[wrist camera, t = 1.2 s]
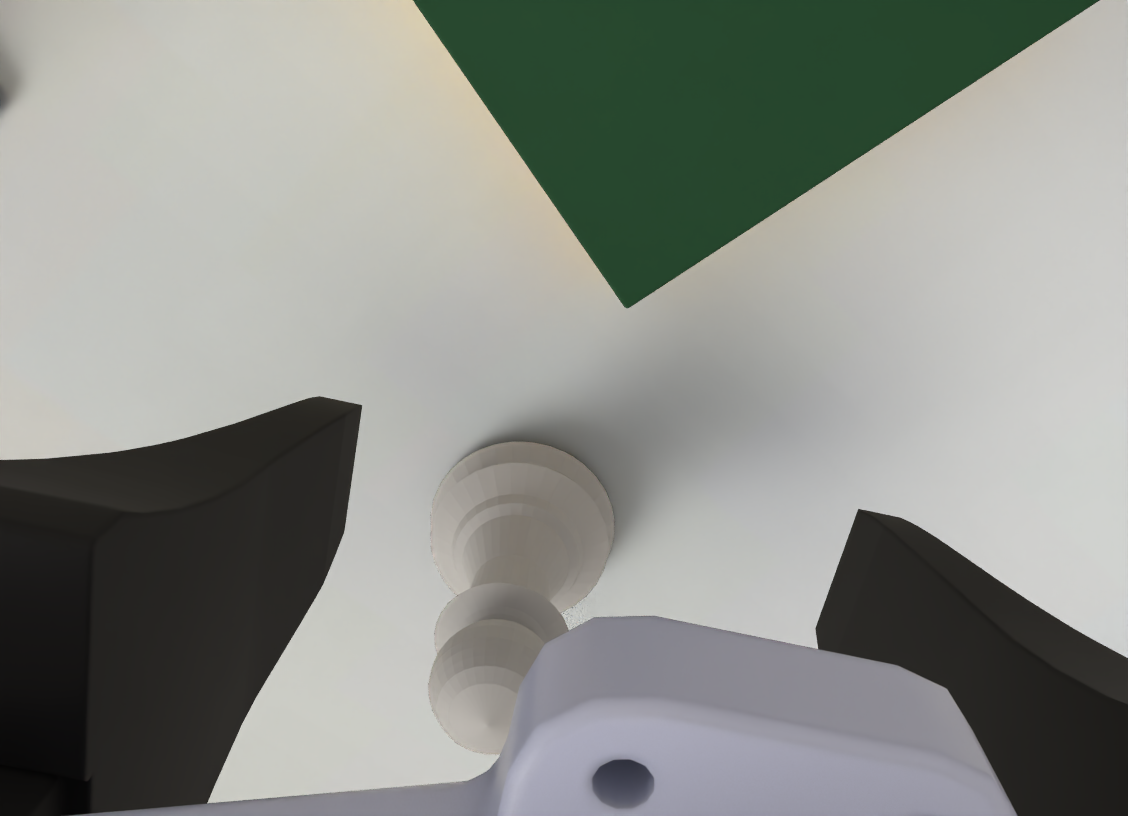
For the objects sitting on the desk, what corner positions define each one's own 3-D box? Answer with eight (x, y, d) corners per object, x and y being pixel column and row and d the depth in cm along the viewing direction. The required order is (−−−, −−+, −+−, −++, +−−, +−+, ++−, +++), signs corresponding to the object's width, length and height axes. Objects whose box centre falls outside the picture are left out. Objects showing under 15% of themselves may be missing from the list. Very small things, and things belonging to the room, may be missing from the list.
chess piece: (645, 557, 25) (660, 777, 18) (486, 624, 26) (439, 858, 19) (563, 406, 24) (542, 574, 16) (399, 482, 25) (309, 674, 17)
